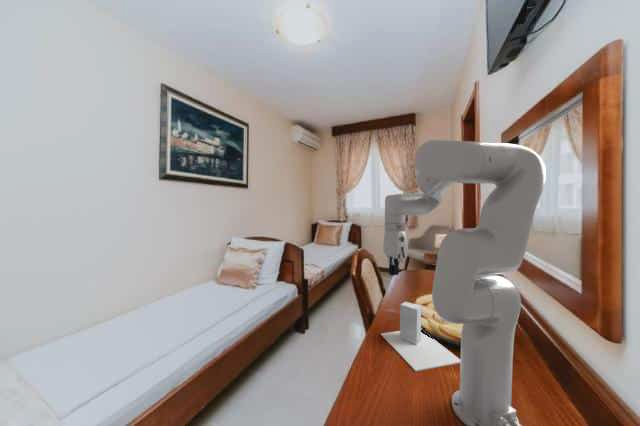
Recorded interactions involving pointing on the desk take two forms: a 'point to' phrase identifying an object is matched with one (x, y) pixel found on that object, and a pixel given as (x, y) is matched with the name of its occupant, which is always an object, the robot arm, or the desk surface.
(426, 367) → the white mat
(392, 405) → the desk surface
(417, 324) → the skincare box
